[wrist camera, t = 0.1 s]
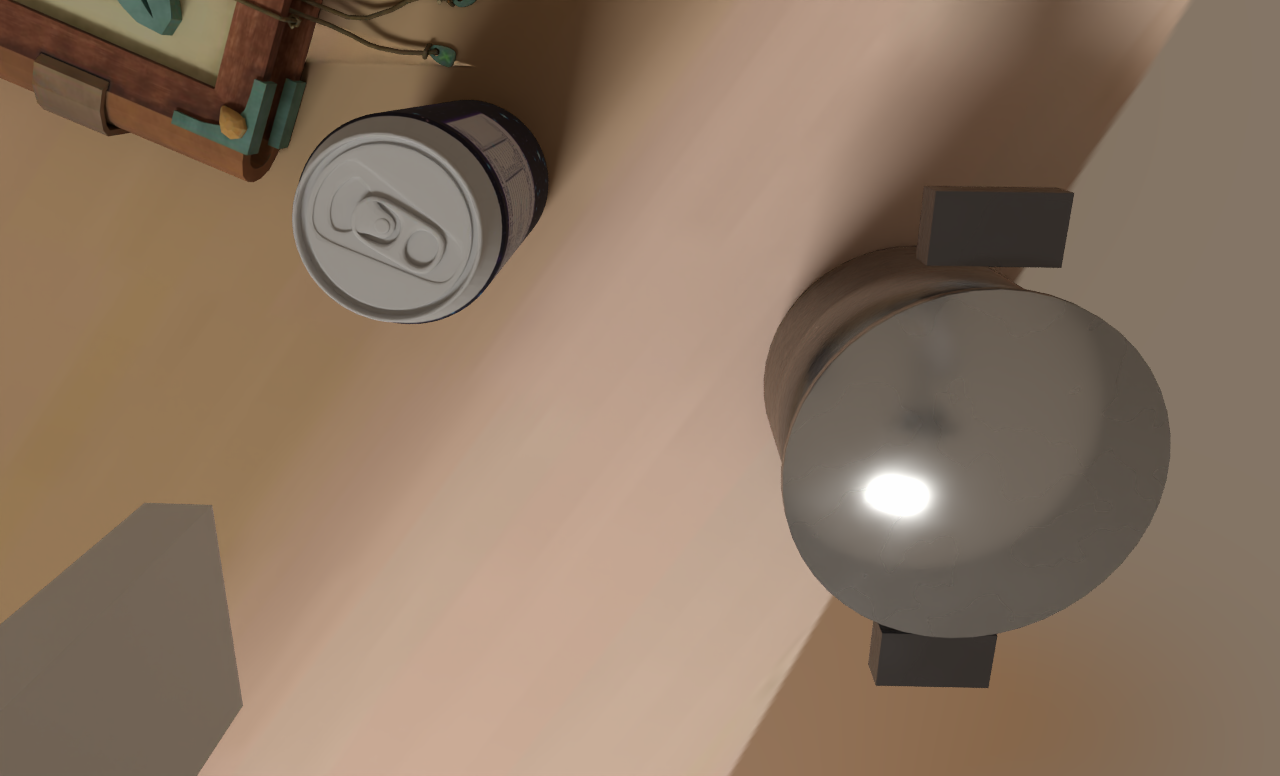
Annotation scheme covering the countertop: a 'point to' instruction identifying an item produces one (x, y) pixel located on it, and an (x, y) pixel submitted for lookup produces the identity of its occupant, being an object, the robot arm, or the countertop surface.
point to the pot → (961, 436)
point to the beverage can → (418, 208)
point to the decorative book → (176, 69)
